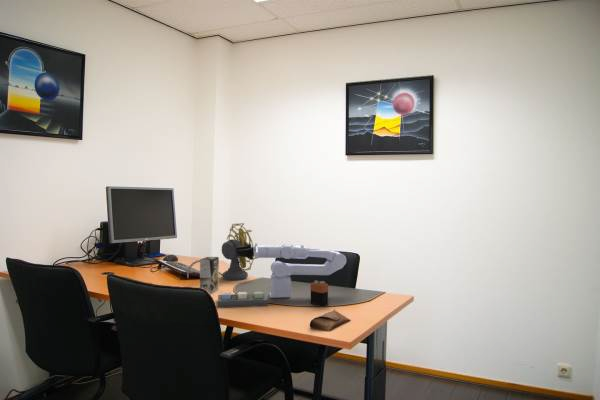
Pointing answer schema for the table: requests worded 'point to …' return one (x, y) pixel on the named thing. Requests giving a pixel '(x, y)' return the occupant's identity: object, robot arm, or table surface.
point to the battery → (319, 293)
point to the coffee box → (209, 274)
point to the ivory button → (242, 295)
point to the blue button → (226, 295)
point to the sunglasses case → (328, 321)
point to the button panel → (242, 301)
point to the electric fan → (234, 255)
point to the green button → (258, 294)
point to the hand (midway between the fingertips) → (236, 251)
